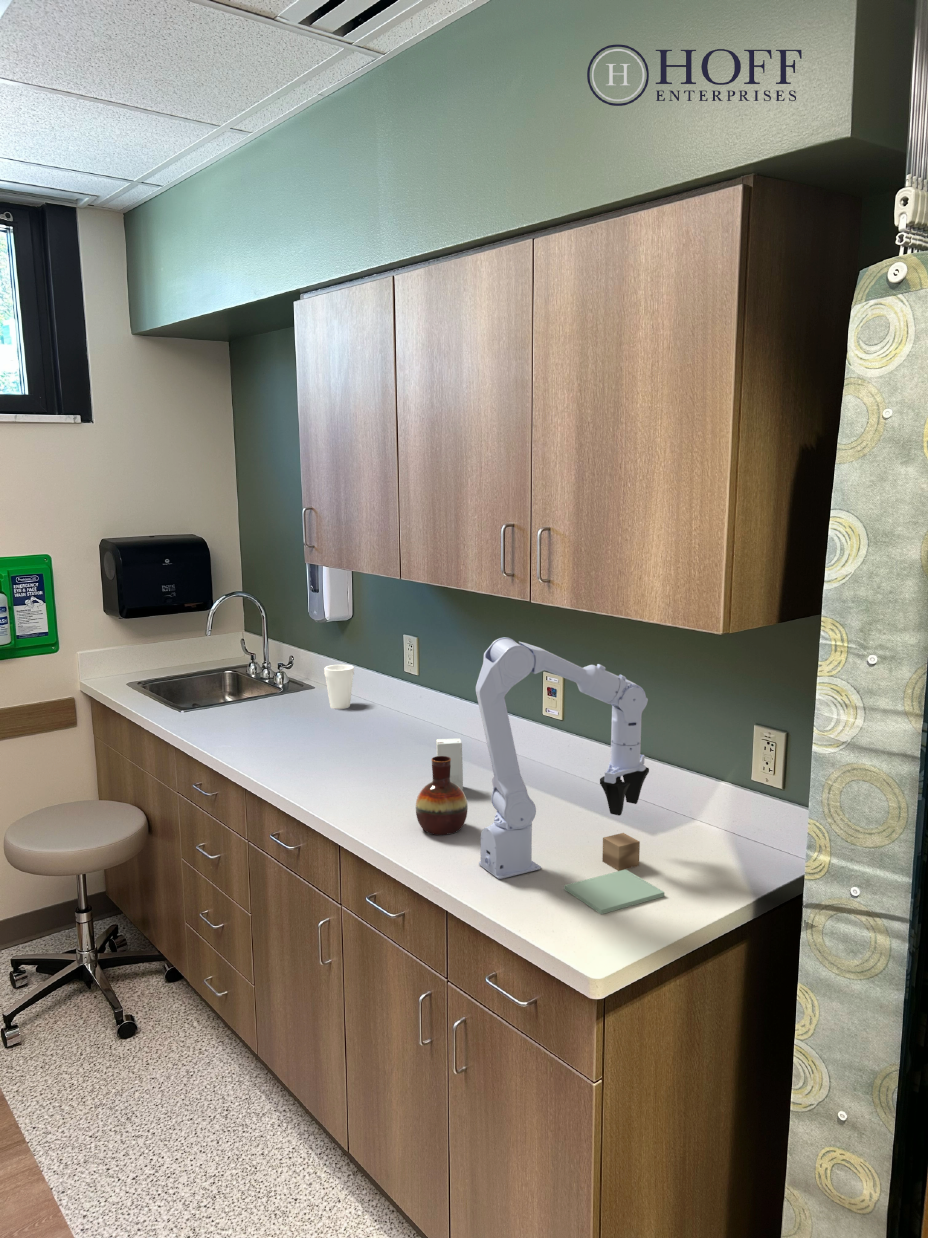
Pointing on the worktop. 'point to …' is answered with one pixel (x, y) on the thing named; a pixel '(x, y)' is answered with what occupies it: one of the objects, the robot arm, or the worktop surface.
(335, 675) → the foam cup
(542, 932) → the worktop surface
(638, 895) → the sage board
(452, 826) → the vase
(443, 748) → the skincare box
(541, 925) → the worktop surface
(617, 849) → the walnut block
